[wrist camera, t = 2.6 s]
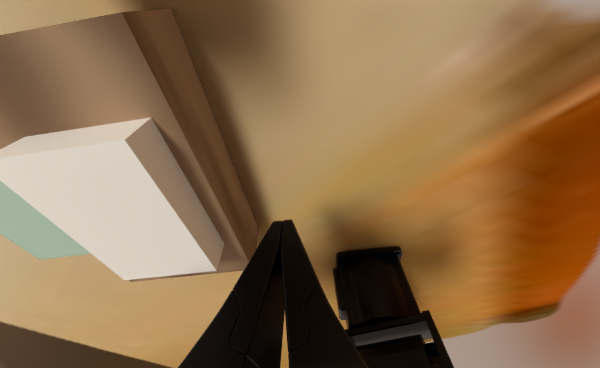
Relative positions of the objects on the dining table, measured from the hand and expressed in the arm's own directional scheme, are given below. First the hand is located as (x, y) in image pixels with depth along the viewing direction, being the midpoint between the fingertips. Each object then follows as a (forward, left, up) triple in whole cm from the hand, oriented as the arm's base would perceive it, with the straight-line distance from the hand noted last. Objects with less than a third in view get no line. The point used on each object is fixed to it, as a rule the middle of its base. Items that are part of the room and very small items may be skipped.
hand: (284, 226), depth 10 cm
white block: (+8, 0, -3) cm, 9 cm away
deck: (+9, 0, -7) cm, 11 cm away
